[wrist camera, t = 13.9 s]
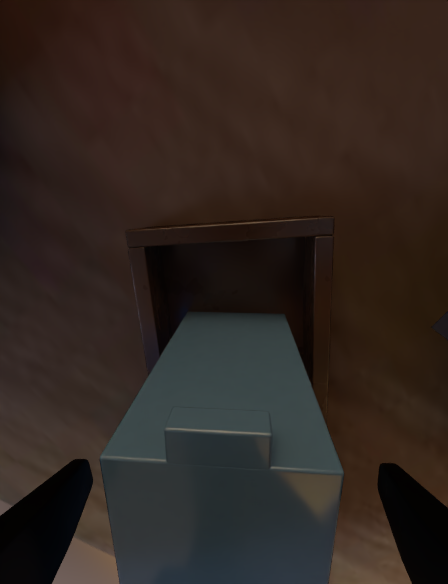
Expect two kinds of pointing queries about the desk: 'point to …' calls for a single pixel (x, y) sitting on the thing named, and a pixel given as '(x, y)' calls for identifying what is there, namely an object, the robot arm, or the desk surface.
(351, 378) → the desk surface
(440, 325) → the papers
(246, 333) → the tabbed grey block
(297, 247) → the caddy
